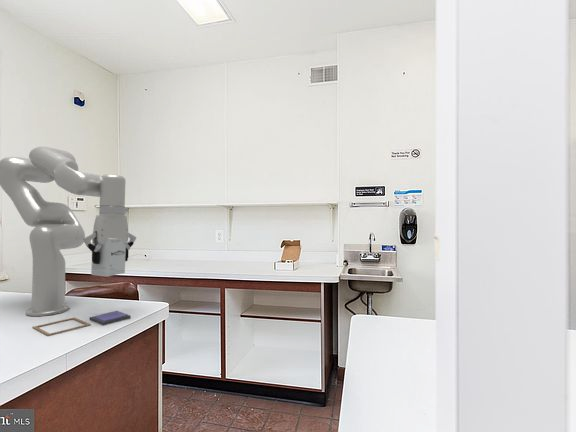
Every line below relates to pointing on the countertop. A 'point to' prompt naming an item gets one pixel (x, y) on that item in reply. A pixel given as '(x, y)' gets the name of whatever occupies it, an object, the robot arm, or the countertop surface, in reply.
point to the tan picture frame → (62, 330)
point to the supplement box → (110, 258)
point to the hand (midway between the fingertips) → (110, 262)
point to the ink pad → (110, 317)
